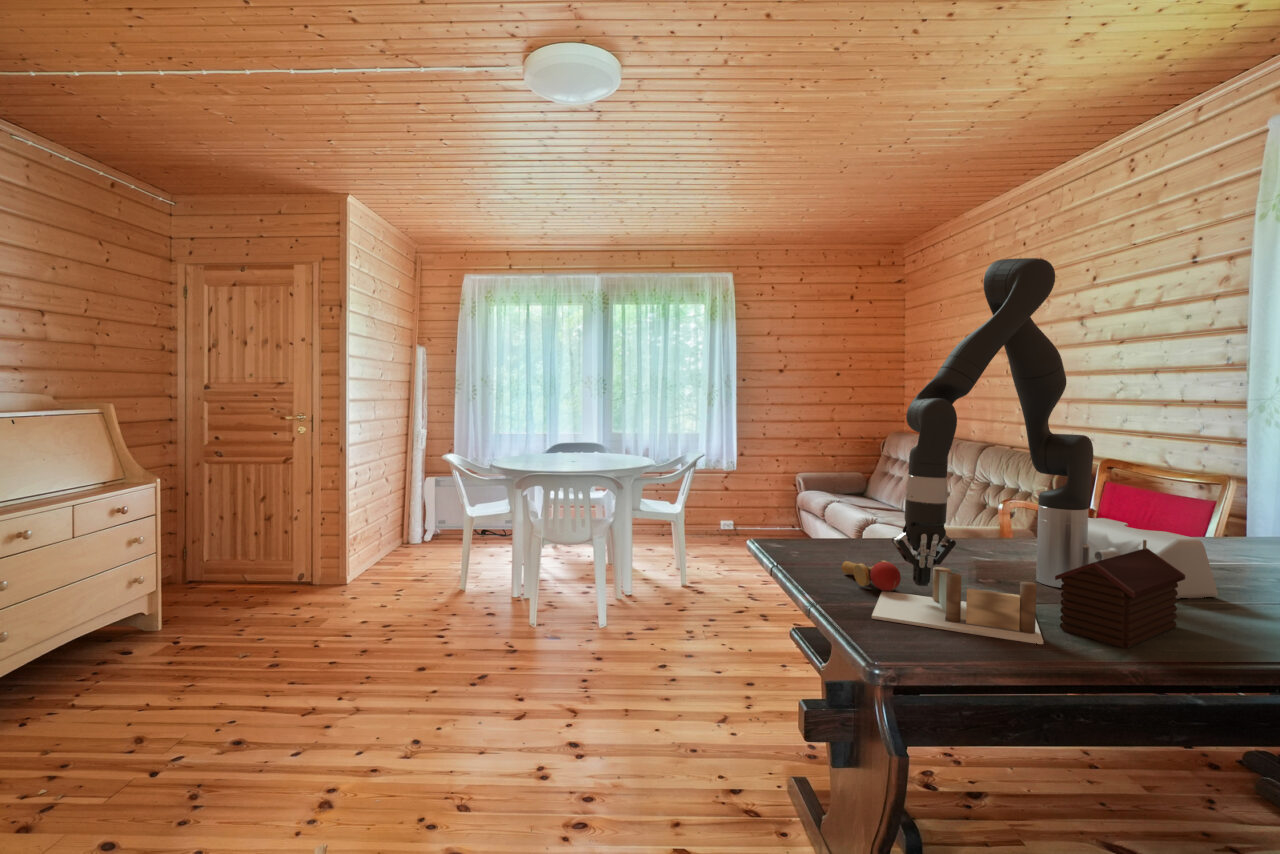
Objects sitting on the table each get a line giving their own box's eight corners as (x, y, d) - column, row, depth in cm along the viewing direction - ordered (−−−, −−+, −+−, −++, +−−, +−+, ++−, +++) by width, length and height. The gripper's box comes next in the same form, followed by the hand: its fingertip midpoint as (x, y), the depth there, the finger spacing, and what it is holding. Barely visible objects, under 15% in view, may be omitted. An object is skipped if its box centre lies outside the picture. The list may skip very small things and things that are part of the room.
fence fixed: (1034, 633, 109) (1035, 582, 108) (1035, 638, 107) (1037, 586, 106) (945, 620, 115) (946, 572, 115) (945, 624, 113) (946, 575, 113)
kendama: (829, 580, 145) (875, 589, 127) (832, 552, 146) (878, 558, 128) (859, 585, 146) (908, 594, 129) (862, 558, 147) (911, 564, 130)
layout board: (1032, 613, 119) (1032, 610, 119) (1043, 644, 104) (1043, 640, 104) (882, 593, 131) (882, 590, 131) (871, 618, 116) (871, 615, 116)
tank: (1054, 569, 151) (1055, 517, 151) (1114, 567, 153) (1115, 516, 152) (1149, 602, 126) (1151, 541, 126) (1219, 599, 128) (1222, 539, 127)
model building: (1108, 610, 122) (1111, 533, 121) (1183, 628, 112) (1186, 545, 111) (1053, 629, 111) (1056, 546, 110) (1130, 652, 101) (1133, 560, 100)
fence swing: (960, 615, 115) (961, 583, 115) (941, 614, 116) (941, 581, 116) (948, 597, 126) (949, 567, 125) (931, 596, 126) (931, 566, 126)
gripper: (905, 501, 119) (900, 590, 120) (969, 502, 121) (963, 590, 121) (885, 495, 127) (880, 579, 127) (945, 496, 128) (940, 580, 129)
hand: (921, 585), depth 124 cm, fingers closed
